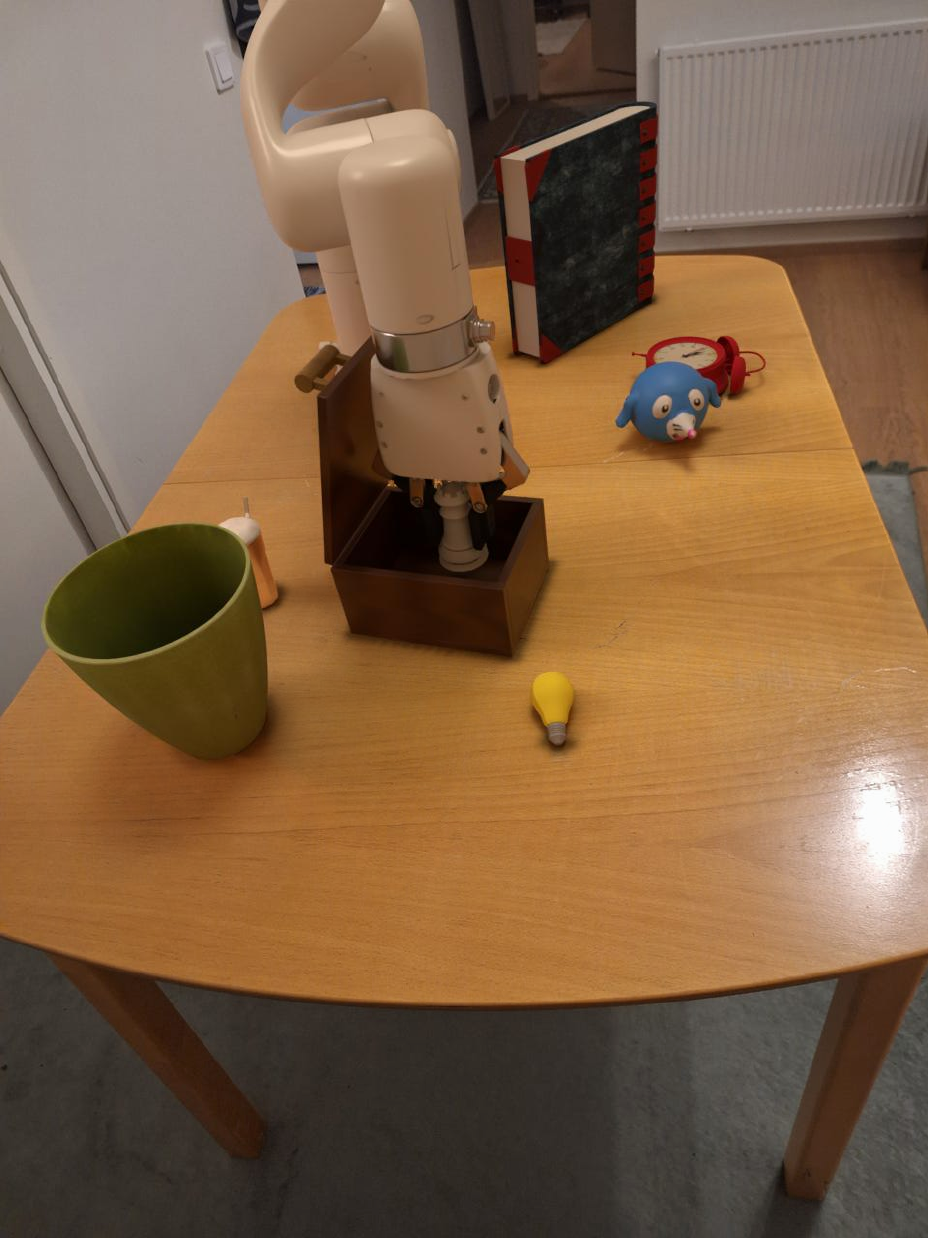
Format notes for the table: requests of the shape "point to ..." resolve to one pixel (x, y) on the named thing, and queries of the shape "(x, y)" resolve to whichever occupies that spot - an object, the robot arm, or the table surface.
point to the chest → (442, 578)
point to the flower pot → (169, 635)
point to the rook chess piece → (457, 529)
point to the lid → (344, 442)
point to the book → (579, 227)
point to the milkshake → (255, 554)
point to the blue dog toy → (668, 402)
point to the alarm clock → (705, 358)
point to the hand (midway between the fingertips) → (460, 536)
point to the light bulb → (553, 702)
